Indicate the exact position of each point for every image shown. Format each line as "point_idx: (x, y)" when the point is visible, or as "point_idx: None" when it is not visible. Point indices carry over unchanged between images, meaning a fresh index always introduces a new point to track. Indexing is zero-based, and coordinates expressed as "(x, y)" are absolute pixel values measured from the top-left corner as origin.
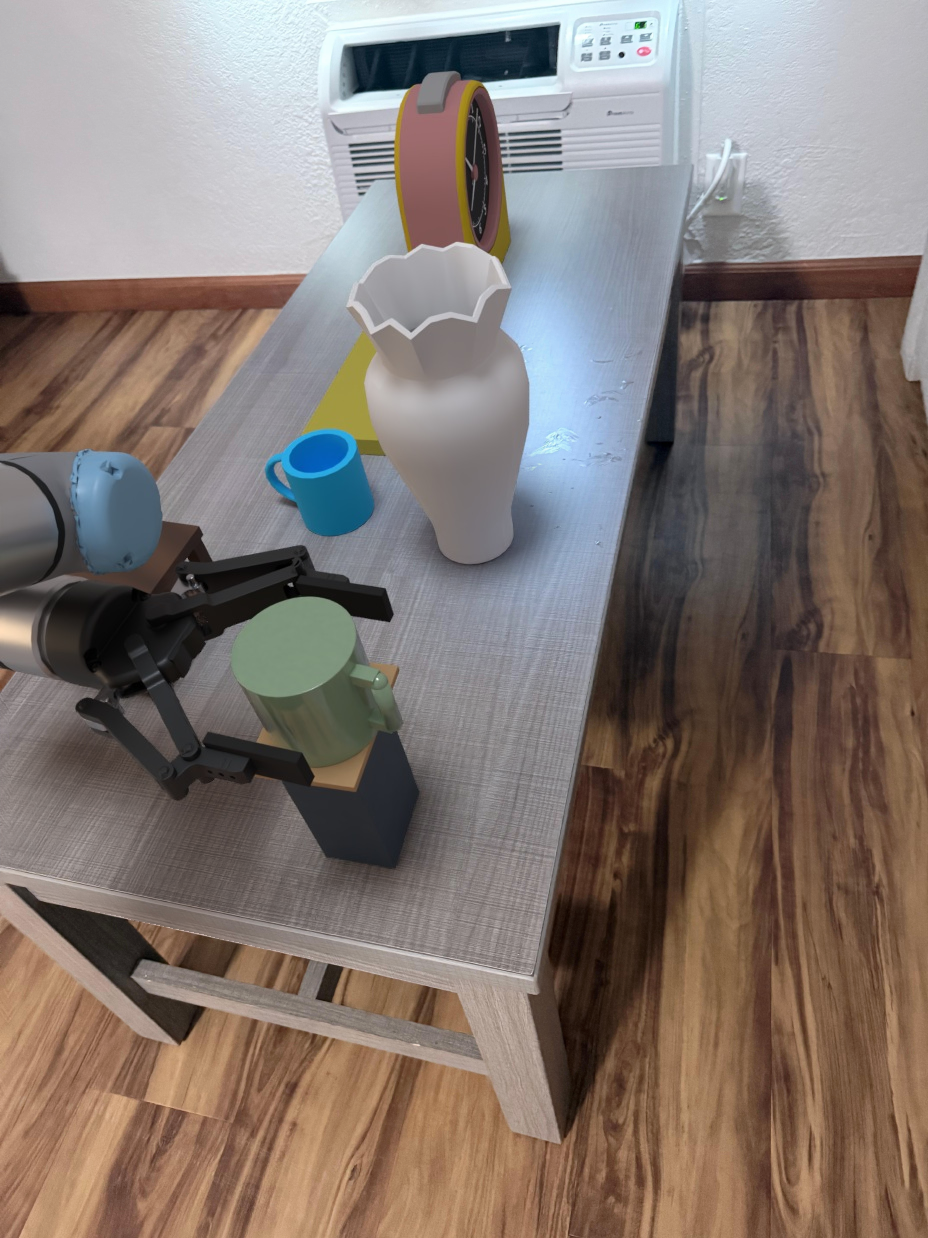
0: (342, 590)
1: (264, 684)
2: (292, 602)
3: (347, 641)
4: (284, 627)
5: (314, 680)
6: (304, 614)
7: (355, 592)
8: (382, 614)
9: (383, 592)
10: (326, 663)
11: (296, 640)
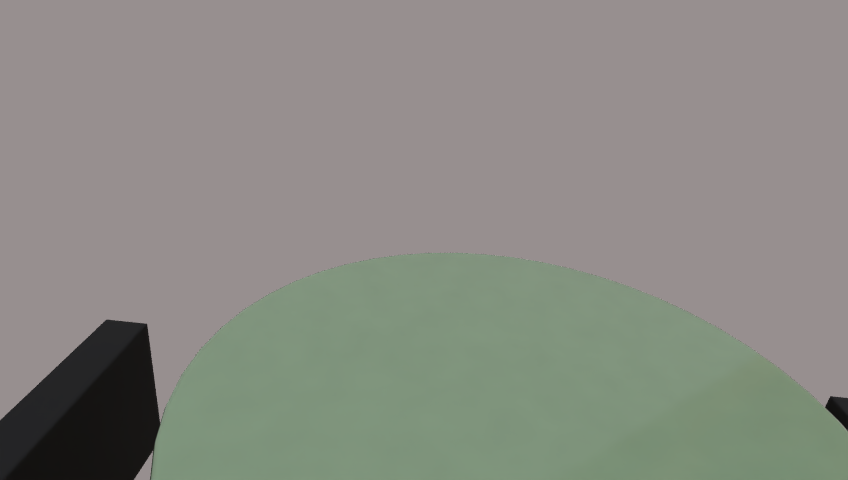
0: (40, 442)
1: (807, 450)
2: (194, 476)
3: (445, 266)
4: (418, 460)
5: (645, 306)
6: (311, 394)
7: (82, 395)
8: (148, 420)
9: (126, 324)
10: (561, 290)
11: (493, 386)
